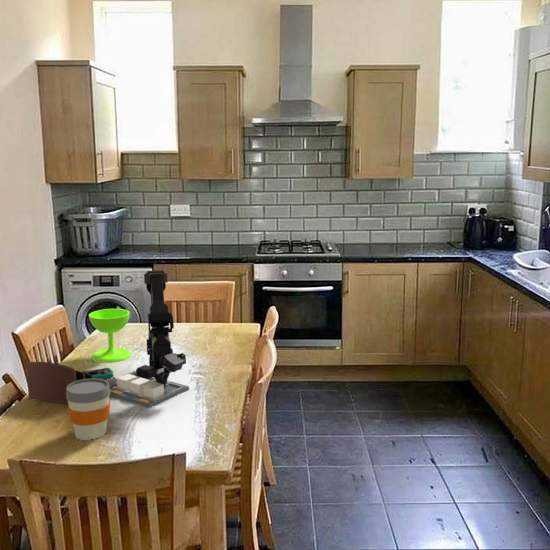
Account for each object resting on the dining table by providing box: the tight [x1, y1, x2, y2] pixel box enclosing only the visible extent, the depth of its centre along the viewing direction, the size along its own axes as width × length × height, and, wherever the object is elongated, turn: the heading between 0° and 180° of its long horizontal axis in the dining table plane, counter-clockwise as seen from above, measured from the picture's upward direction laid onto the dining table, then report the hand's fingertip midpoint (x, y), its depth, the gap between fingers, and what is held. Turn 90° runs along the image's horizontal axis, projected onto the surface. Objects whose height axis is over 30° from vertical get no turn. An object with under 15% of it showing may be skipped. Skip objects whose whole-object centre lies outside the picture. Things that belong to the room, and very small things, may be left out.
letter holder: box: [26, 361, 93, 406], centre depth 208 cm, size 10×20×14 cm, turn 70°
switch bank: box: [109, 377, 190, 408], centre depth 214 cm, size 19×20×2 cm
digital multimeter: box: [81, 367, 114, 381], centre depth 227 cm, size 7×15×3 cm, turn 115°
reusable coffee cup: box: [66, 378, 111, 441], centre depth 182 cm, size 13×12×15 cm
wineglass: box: [88, 308, 132, 363], centre depth 250 cm, size 16×16×18 cm
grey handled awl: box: [106, 376, 117, 389], centre depth 215 cm, size 14×3×3 cm
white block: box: [116, 373, 138, 391], centre depth 214 cm, size 5×5×4 cm
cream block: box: [130, 377, 150, 395], centre depth 210 cm, size 5×5×4 cm
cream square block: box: [143, 382, 164, 399], centre depth 207 cm, size 5×5×4 cm
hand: (162, 389), depth 210 cm, fingers closed
